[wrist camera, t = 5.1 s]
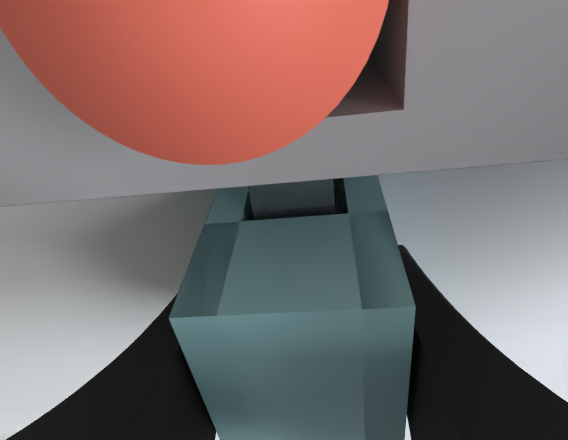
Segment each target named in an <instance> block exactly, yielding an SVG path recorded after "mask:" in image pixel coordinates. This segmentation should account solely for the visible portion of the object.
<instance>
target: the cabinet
mask: <svg viewBox="0 0 568 440" xmlns="http://www.w3.org/2000/svg"><path fill="white" fill-rule="evenodd" d="M561 159H568V0H389V2H388V7H387V10H386V14H385V17H384V20H383V23H382V26H381V29H380V33H379V36H378V38H377V40H376V43H375V45H374V47H373V49H372V52H371V54H370V56H369V58H368V61H367V63H366V64H365V66H364V68H363V69H362V71H361V73H360V74H359V76H358V78H357V79H356V81H355V83H354V85H353V86H352V87H351V89H350V90H349V91H348V92H347V94H346V95H345V96H344V98H343V99H342V100H341V101H340V103H339V104H338V105H337V106H336V107H335V108H334V109H333V110H332V111H331V112H330V113H329V114H328V115H327V116H326V117H325V118H324V119H323V120H322V121H321V122H320V123H319V124H318V125H316V126H315V127H314V128H313V129H311V130H310V131H309V132H307V133H306V134H305V135H304V136H302V137H300V138H299V139H297V140H295V141H294V142H292V143H290V144H289V145H287V146H285V147H283V148H281V149H279V150H276V151H274V152H272V153H269V154H267V155H265V156H261V157H258V158H254V159H251V160H247V161H243V162H237V163H230V164H224V165H195V164H184V163H178V162H173V161H168V160H163V159H159V158H156V157H153V156H150V155H147V154H144V153H140V152H138V151H136V150H133V149H131V148H129V147H127V146H124V145H122V144H120V143H118V142H116V141H114V140H112V139H111V138H109V137H107V136H105V135H104V134H102V133H100V132H98V131H97V130H95V129H94V128H92V127H91V126H90V125H88V124H87V123H85V122H84V121H83V120H81V119H80V118H78V117H77V116H76V115H74V114H73V113H72V112H71V111H70V110H69V109H68V108H66V107H65V106H64V105H63V104H62V103H61V102H59V101H58V100H57V99H56V98H55V97H54V96H53V95H52V94H51V93H50V92H49V91H48V90H47V89H46V88H45V87H44V86H43V84H42V83H41V82H40V81H39V80H38V79H37V78H36V77H35V76H34V74H33V73H32V72H31V71H30V69H29V68H28V67H27V66H26V64H25V63H24V62H23V61H22V59H21V58H20V57H19V56H18V54H17V53H16V51H15V50H14V48H13V47H12V45H11V43H10V42H9V40H8V39H7V37H6V36H5V34H4V33H3V31H2V30H1V28H0V207H4V206H15V205H27V204H39V203H51V202H63V201H75V200H87V199H98V198H110V197H122V196H134V195H146V194H158V193H170V192H181V191H193V190H205V189H217V188H229V187H241V186H253V185H265V184H276V183H288V182H300V181H312V180H324V179H336V178H348V177H359V176H371V175H383V174H395V173H407V172H419V171H431V170H443V169H454V168H466V167H478V166H490V165H502V164H514V163H526V162H537V161H549V160H561Z"/></svg>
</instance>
